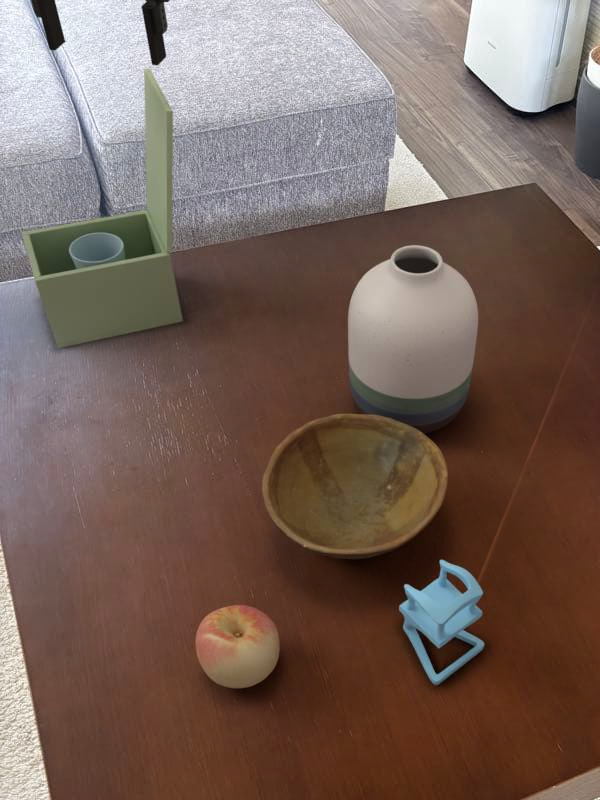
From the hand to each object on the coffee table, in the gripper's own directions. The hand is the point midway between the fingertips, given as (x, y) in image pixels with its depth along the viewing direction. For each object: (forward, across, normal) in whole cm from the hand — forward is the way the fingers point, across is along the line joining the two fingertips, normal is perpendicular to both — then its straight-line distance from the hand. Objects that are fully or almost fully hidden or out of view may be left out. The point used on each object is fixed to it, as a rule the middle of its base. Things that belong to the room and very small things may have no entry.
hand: (108, 53), depth 108 cm
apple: (+37, +35, -60) cm, 78 cm away
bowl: (+37, +42, -37) cm, 67 cm away
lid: (+15, +3, +2) cm, 15 cm away
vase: (+37, +43, -13) cm, 58 cm away
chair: (+37, +55, -51) cm, 84 cm away
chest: (+37, -6, -4) cm, 38 cm away
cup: (+36, -6, -4) cm, 37 cm away
